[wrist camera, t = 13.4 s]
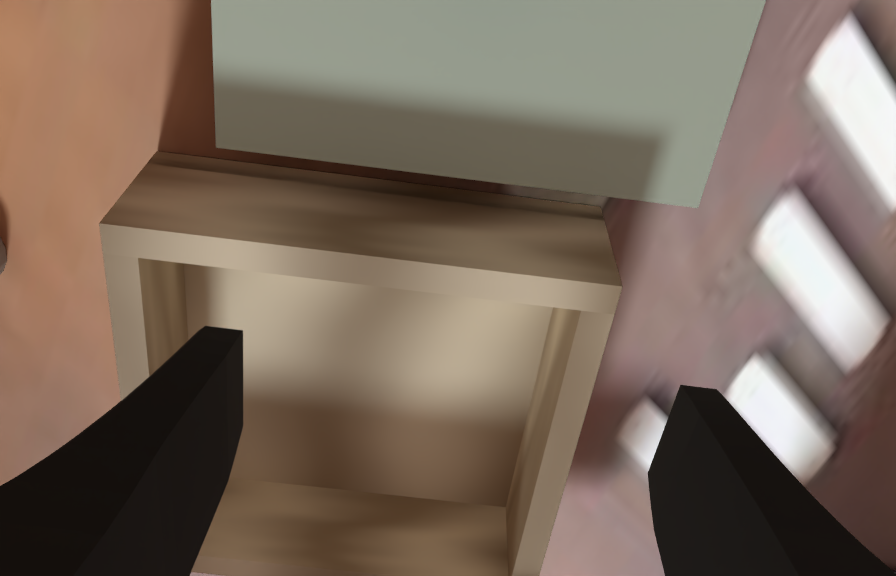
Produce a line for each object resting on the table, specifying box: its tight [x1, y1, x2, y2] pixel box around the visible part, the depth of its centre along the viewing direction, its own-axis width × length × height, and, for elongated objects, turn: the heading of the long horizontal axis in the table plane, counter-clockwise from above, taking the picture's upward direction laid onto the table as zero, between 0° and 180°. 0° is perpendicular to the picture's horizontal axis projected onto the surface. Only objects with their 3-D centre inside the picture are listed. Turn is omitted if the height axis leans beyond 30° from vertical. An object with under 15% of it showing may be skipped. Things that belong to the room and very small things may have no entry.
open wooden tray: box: [99, 151, 623, 576], centre depth 24 cm, size 12×12×4 cm
